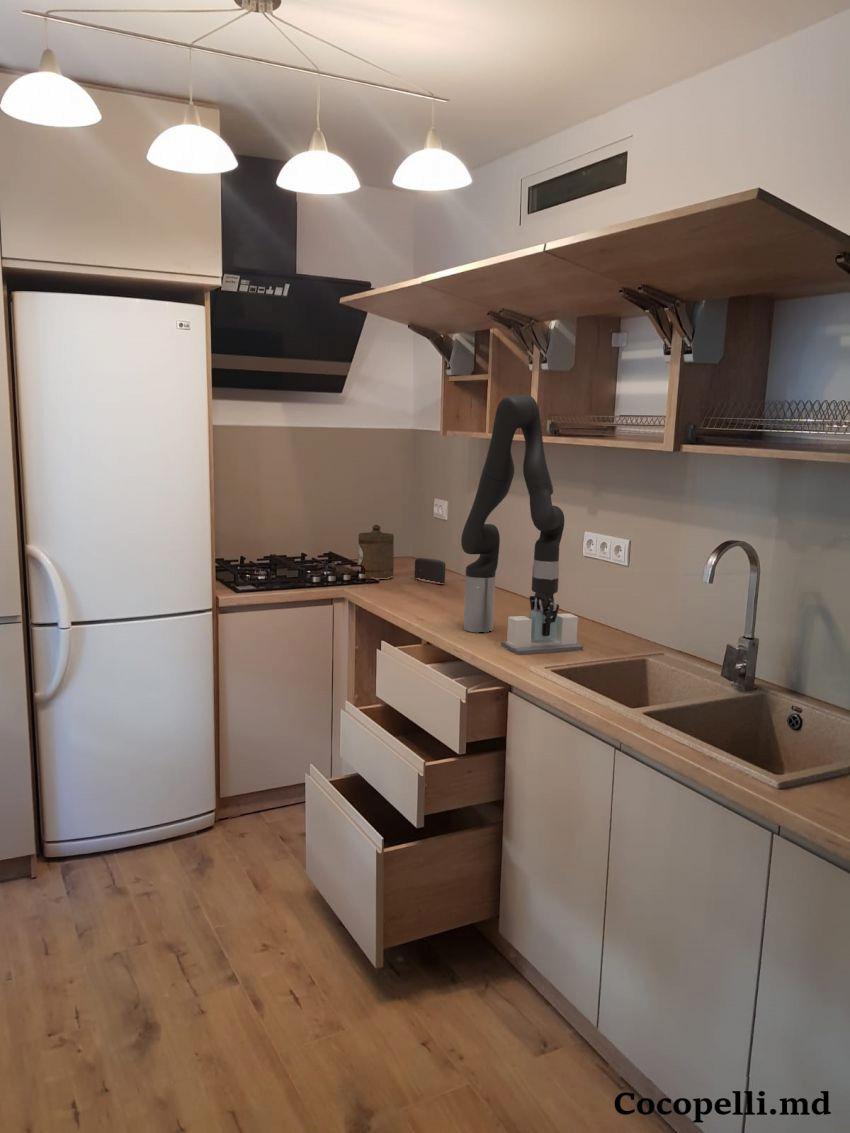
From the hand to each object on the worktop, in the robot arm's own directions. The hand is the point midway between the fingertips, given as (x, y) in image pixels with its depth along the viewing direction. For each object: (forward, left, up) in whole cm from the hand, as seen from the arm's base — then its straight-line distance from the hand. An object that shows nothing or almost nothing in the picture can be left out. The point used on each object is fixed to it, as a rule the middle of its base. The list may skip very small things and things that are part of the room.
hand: (542, 633), depth 245 cm
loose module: (0, 0, -1) cm, 1 cm away
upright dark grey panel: (-105, +5, -4) cm, 105 cm away
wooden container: (-121, -13, -4) cm, 122 cm away
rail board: (0, 0, -4) cm, 4 cm away
